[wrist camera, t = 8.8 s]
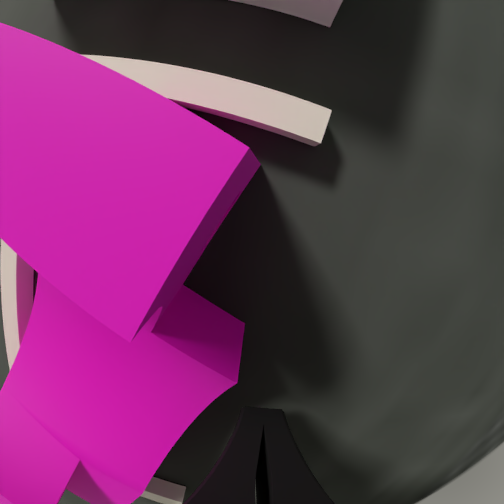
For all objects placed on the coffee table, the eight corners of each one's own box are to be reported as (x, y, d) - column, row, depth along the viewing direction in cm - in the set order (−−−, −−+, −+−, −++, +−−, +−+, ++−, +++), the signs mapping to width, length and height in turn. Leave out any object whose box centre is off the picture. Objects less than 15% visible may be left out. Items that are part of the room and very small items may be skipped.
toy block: (139, 452, 13) (97, 563, 6) (42, 388, 13) (-31, 478, 5) (326, 210, 10) (463, 313, 2) (163, 105, 9) (-8, 19, 2)
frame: (323, 117, 9) (332, 110, 8) (183, 493, 14) (179, 508, 13) (58, 61, 8) (40, 53, 7) (36, 429, 13) (27, 440, 12)
